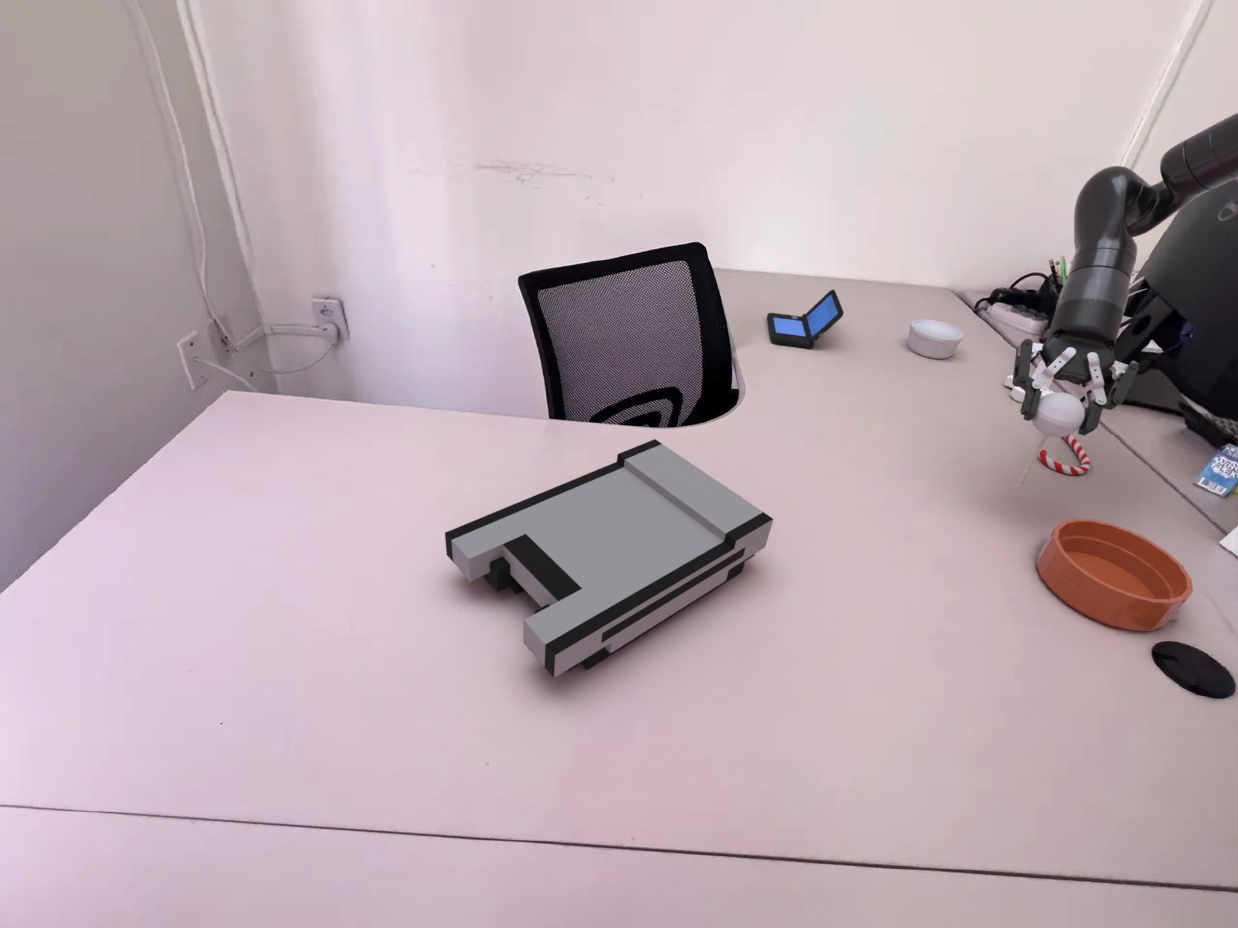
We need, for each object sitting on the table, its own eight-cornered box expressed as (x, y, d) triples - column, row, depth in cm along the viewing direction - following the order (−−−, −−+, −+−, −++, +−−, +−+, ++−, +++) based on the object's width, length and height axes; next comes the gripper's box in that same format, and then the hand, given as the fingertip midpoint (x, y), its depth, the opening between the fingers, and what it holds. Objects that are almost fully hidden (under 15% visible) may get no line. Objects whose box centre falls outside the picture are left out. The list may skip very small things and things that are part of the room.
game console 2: (448, 577, 76) (444, 524, 72) (648, 486, 95) (655, 439, 90) (552, 701, 64) (555, 646, 59) (758, 568, 82) (773, 518, 78)
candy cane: (1087, 435, 117) (1093, 476, 106) (1084, 441, 117) (1089, 482, 106) (1040, 422, 119) (1040, 460, 108) (1036, 428, 120) (1037, 466, 109)
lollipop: (1003, 470, 96) (1051, 379, 87) (1046, 489, 93) (1099, 397, 84) (988, 485, 92) (1036, 392, 84) (1032, 506, 89) (1086, 411, 80)
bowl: (1140, 564, 90) (1162, 534, 87) (1188, 648, 78) (1216, 616, 75) (1022, 538, 92) (1040, 507, 89) (1051, 614, 80) (1073, 583, 77)
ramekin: (910, 335, 152) (918, 314, 149) (960, 351, 147) (969, 329, 144) (896, 350, 145) (904, 327, 142) (948, 366, 140) (958, 344, 137)
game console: (765, 317, 154) (774, 280, 149) (824, 325, 153) (834, 288, 148) (769, 344, 141) (779, 304, 136) (833, 353, 140) (845, 313, 135)
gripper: (1041, 285, 85) (1006, 401, 83) (1167, 310, 81) (1134, 434, 79) (1020, 310, 93) (987, 419, 90) (1135, 335, 88) (1104, 449, 86)
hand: (1056, 425), depth 85 cm, fingers closed on lollipop, 6 cm apart
